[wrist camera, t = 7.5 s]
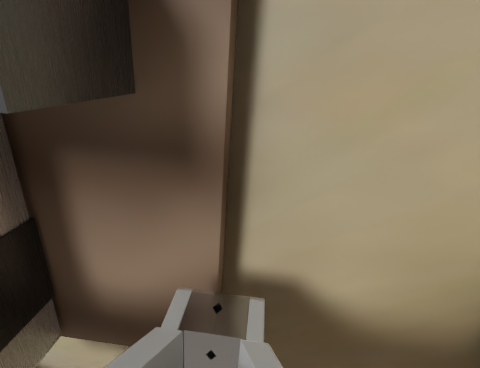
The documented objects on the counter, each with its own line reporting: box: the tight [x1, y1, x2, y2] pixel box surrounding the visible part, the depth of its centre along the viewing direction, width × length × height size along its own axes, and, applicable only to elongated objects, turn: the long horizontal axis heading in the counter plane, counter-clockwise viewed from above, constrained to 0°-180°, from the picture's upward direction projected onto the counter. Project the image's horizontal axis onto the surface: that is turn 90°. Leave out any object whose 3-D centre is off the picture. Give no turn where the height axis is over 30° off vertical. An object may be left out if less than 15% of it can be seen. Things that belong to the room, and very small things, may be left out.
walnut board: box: [1, 0, 238, 346], centre depth 10 cm, size 20×15×2 cm
